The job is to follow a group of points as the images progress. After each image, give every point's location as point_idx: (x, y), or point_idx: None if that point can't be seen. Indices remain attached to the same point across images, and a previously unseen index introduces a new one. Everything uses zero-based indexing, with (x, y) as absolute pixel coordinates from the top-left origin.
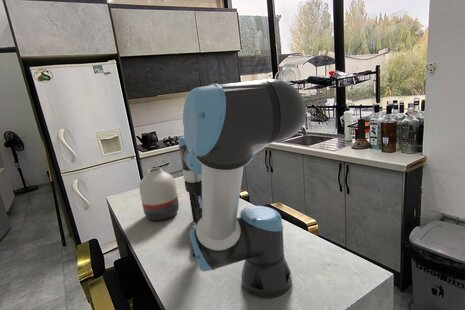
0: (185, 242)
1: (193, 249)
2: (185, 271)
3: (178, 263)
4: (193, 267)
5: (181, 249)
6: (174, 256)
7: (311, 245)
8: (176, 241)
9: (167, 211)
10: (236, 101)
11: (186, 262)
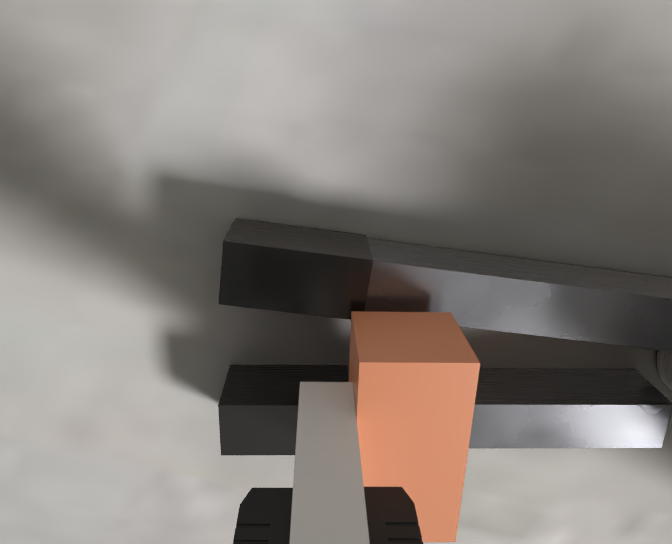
0: (568, 185)
1: (233, 255)
2: (4, 87)
3: (182, 33)
4: (50, 182)
5: (450, 115)
6: (347, 7)
7: None
8: (662, 84)
9: None
10: None
11: (166, 127)
